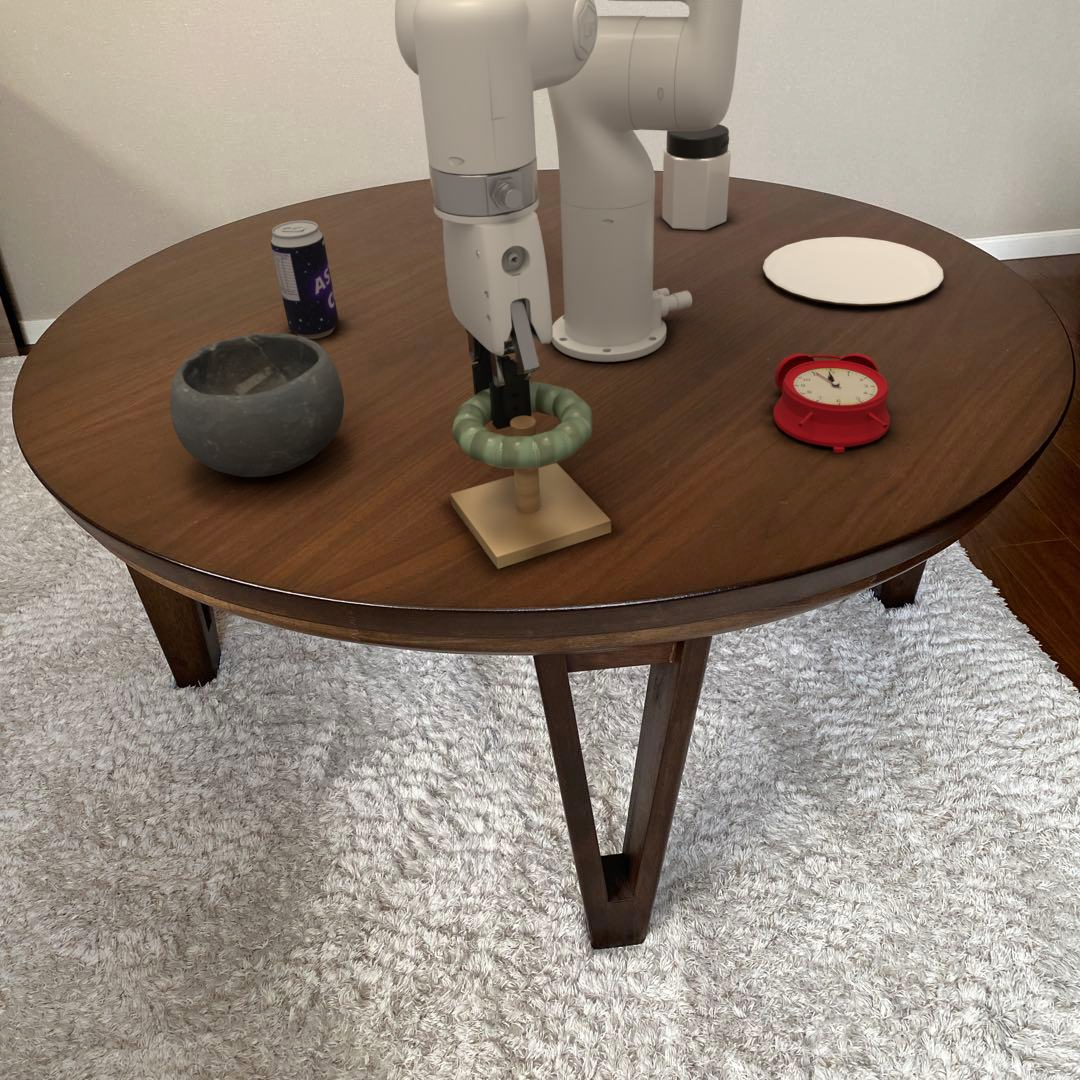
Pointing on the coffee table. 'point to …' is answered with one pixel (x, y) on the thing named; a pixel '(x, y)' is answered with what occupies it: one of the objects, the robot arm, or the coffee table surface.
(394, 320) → the coffee table surface
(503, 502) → the stand
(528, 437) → the ring
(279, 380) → the bowl
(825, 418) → the alarm clock
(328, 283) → the beverage can
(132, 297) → the coffee table surface
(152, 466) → the coffee table surface
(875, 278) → the plate
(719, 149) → the jar
